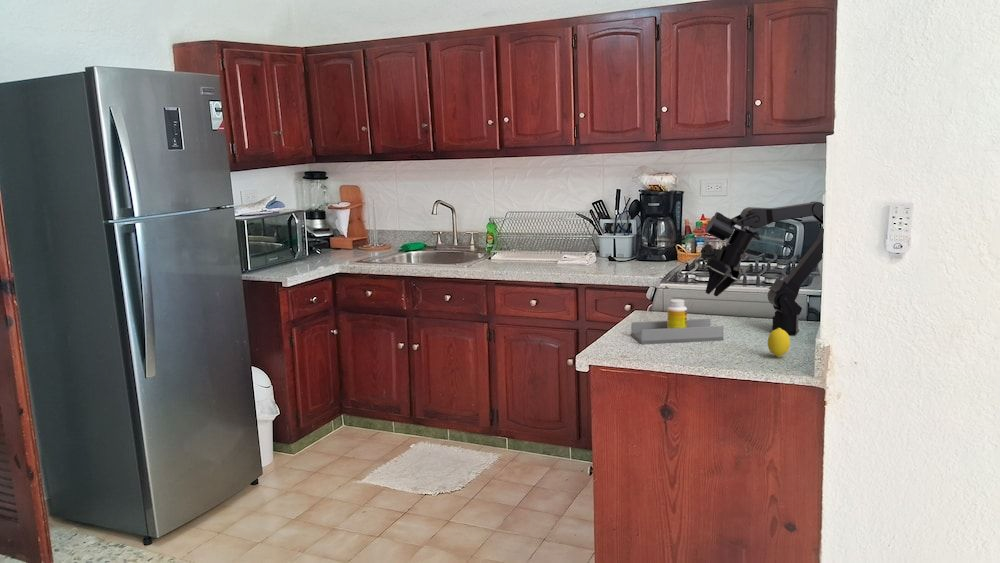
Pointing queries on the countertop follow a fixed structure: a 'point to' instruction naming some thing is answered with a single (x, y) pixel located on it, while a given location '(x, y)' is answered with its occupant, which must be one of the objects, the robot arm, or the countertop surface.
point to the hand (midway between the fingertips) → (711, 294)
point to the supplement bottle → (677, 314)
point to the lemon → (778, 342)
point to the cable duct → (676, 332)
